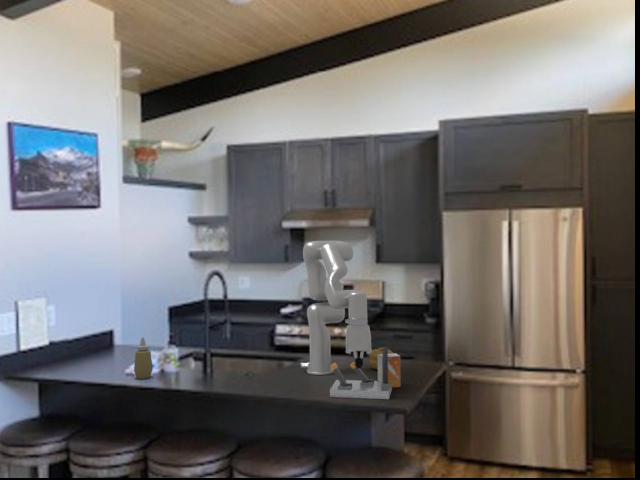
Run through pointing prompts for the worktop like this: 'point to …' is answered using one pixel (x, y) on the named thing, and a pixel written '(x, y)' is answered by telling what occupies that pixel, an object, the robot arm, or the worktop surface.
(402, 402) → the worktop surface
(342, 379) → the orange tipped lever
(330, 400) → the worktop surface
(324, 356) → the robot arm
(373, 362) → the pot
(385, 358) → the post
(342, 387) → the panel
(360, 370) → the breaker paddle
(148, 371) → the squeeze bottle
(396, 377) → the small box
